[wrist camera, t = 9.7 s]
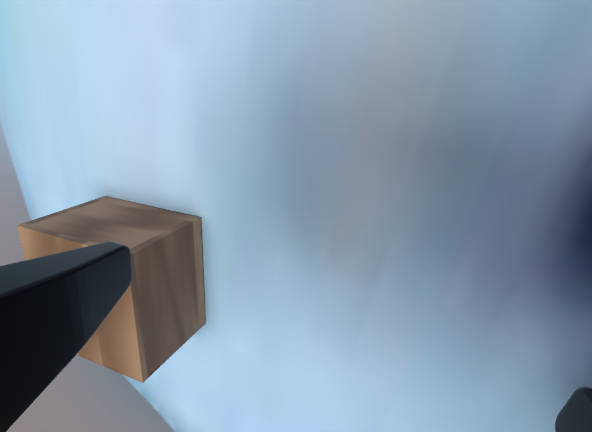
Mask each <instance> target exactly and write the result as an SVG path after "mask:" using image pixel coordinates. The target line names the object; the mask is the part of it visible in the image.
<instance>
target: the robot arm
mask: <svg viewBox="0 0 592 432" xmlns="http://www.w3.org/2000/svg"><path fill="white" fill-rule="evenodd" d="M131 280H132V264H131V251H130V249H129V247H128V246H126V245H123V244H120V243H117V242H113V241H109V242H104V243H100V244H95V245H91V246H86V247H82V248H78V249H73V250H69V251H65V252H60V253H56V254H52V255H47V256H43V257H38V258H34V259H30V260H25V261H21V262H17V263H13V264H8V265H4V266H0V432H6V431H7V430H8V429H9V428H10V427H11V425H13V423H14V422H15V421H16V420H17V419H18V418H19V417H20V416H21V415H22V414H23V412H24V411H25V410H26V409H27V408H28V407H29V406H30V405H31V404H32V403H33V401H34V400H35V399H36V398H37V397H38V396H39V395H40V394H41V393H42V392H43V391H44V389H45V388H46V387H47V386H48V385H49V384H50V383H51V382H52V381H53V380H54V379H55V377H56V376H57V375H58V374H59V373H60V372H61V371H62V370H63V368H65V366H66V365H67V364H68V363H69V362H70V361H71V360H72V359H73V357H75V356H76V354H77V353H78V352H79V351H80V350H81V349H82V348H83V346H84V345H85V344H86V343H87V342H88V340H89V339H90V338H91V337H92V335H93V334H94V333H95V331H96V330H97V329H98V328H99V326H100V325H101V324H102V322H103V321H104V320H105V318H106V317H107V316H108V314H109V313H110V312H111V310H112V309H113V308H114V306H115V305H116V304H117V302H118V301H119V300H120V298H121V297H122V296H123V294H124V293H125V292H126V290H127V289H128V287H129V286H130V283H131ZM555 431H556V432H592V389H590V388H586V387H581V388H578V389H577V390H576V391H575V392H574V393H573V395H572V396H571V397H570V399H569V400H568V402H567V403H566V404H565V406H564V407H563V409H562V410H561V411H560V413H559V414H558V416H557V419H556V423H555Z"/></svg>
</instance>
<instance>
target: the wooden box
mask: <svg viewBox="0 0 592 432" xmlns="http://www.w3.org/2000/svg"><path fill="white" fill-rule="evenodd" d="M17 227H18V231H19V235H20V240H21V244H22V248H23V252H24V257H25V260H30V259H34V258H38V257H43V256H47V255H52V254H56V253H60V252H65V251H69V250H73V249H78V248H82V247H86V246H91V245H95V244H100V243H104V242H109V241H113V242H117V243H120V244H123V245H126V246H128V247H129V249H130V251H131V264H132V280H131V283H130V286H129V287H128V289H127V290H126V292H125V293H124V294H123V296H122V297H121V298H120V300H119V301H118V302H117V304H116V305H115V306H114V308H113V309H112V310H111V312H110V313H109V314H108V316H107V317H106V318H105V320H104V321H103V322H102V324H101V325H100V326H99V328H98V329H97V330H96V331H95V333H94V334H93V335H92V337H91V338H90V339H89V340H88V342H87V343H86V344H85V345H84V346H83V348H82V349H81V350H80V351H79V352H78V353H77V354H76V355H78V356H81V357H83V358H85V359H88V360H90V361H92V362H95V363H97V364H100V365H102V366H104V367H106V368H109V369H111V370H114V371H116V372H118V373H121V374H123V375H125V376H128V377H130V378H132V379H135V380H137V381H139V382H142V383H143V382H144V381H145V380H146V379H147V378H148V377H150V376H151V375H152V374H153V373H154V372H155V371H156V370H157V369H158V368H159V367H160V366H161V365H162V364H163V363H164V362H165V361H166V360H167V359H168V358H169V357H171V356H172V355H173V354H174V353H175V352H176V351H177V350H178V349H179V348H180V347H181V346H182V345H183V344H184V343H185V342H186V341H187V340H188V339H189V338H190V337H192V336H193V335H194V334H195V333H196V332H197V331H198V330H199V329H200V328H201V327H202V326H203V325H204V324H205V301H204V278H203V255H202V232H201V217H197V216H192V215H188V214H183V213H179V212H174V211H170V210H165V209H160V208H156V207H151V206H147V205H142V204H138V203H133V202H129V201H124V200H120V199H115V198H111V197H106V196H104V197H101V198H98V199H95V200H92V201H89V202H86V203H83V204H80V205H77V206H74V207H71V208H68V209H65V210H62V211H59V212H56V213H53V214H50V215H47V216H44V217H41V218H38V219H35V220H32V221H29V222H26V223H23V224H20V225H17Z"/></svg>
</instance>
